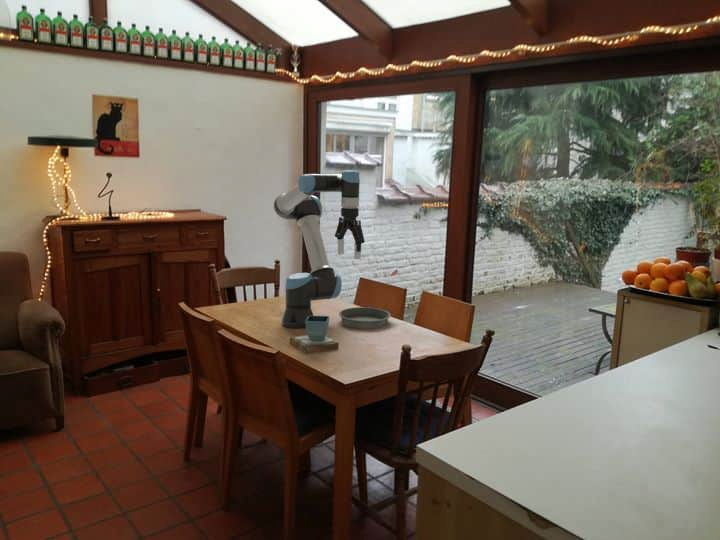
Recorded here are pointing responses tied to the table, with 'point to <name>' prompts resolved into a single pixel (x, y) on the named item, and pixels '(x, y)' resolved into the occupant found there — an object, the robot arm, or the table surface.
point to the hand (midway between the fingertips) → (348, 256)
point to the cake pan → (364, 317)
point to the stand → (313, 344)
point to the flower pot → (317, 327)
